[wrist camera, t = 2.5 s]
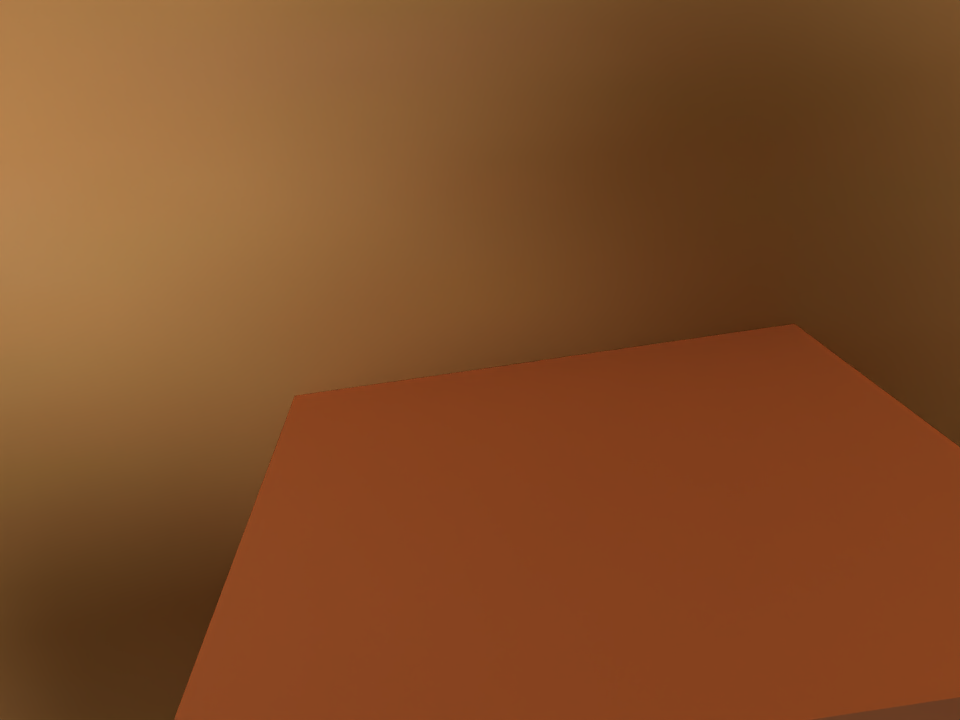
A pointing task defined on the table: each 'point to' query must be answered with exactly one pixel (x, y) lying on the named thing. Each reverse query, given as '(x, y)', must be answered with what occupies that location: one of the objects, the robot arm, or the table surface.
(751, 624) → the terracotta cube
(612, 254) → the table surface
